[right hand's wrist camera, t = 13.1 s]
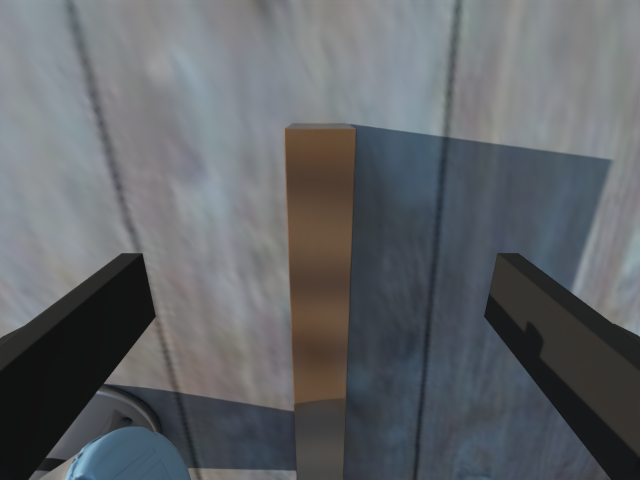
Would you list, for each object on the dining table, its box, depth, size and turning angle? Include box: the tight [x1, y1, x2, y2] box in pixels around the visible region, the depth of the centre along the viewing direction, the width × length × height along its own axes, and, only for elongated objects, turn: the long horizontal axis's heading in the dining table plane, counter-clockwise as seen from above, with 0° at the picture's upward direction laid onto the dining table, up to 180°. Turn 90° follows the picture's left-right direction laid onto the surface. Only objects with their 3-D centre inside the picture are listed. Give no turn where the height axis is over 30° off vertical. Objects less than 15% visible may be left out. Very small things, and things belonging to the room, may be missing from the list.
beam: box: [284, 124, 356, 480], centre depth 40 cm, size 60×5×8 cm, turn 0°
